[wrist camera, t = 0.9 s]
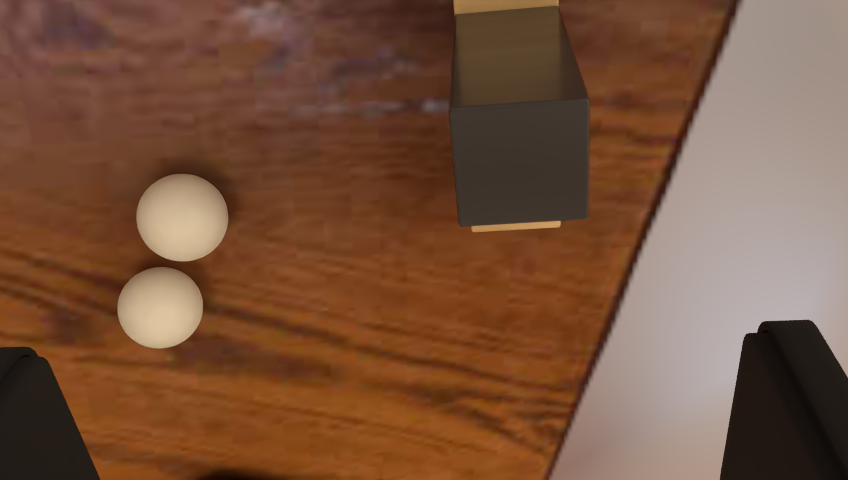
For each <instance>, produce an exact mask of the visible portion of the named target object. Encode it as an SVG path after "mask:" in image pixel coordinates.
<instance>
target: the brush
mask: <svg viewBox="0 0 848 480" xmlns="http://www.w3.org/2000/svg"><path fill="white" fill-rule="evenodd" d="M453 5H454V30H453V47H452V63H451V79H450V96H449V122H450V133H451V144H452V155H453V166H454V178H455V189H456V200H457V211H458V223H459V225H460V226H462V227H465V226H471V231H472V232H485V231H502V230H519V229H537V228H554V227H560V221H567V220H584V219H587V217H588V202H589V132H590V99H589V96H588V93H587V90H586V87H585V84H584V81H583V78H582V75H581V72H580V69H579V66H578V63H577V60H576V57H575V54H574V51H573V48H572V45H571V42H570V39H569V36H568V33H567V30H566V27H565V24H564V21H563V18H562V15H561V12H560V9H559V0H453Z"/></svg>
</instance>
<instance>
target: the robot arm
mask: <svg viewBox="0 0 848 480" xmlns="http://www.w3.org/2000/svg"><path fill="white" fill-rule="evenodd" d="M0 480H100V478H99V476H98V473H97V471H96V469H95V466H94V464H93V462H92V460H91V457H90V455H89V453H88V451H87V448H86V446H85V444H84V441H83V439H82V437H81V435H80V432H79V430H78V428H77V426H76V423H75V421H74V419H73V416H72V414H71V412H70V410H69V407H68V405H67V403H66V401H65V398H64V396H63V394H62V392H61V389H60V387H59V385H58V382H57V380H56V378H55V376H54V373H53V371H52V369H51V367H50V364H49V363H48V361H47V360H46V359H45V358H43V357H38V355H37V353H36V352H35V351H34V350H33V349H31V348H30V347H2V348H0ZM720 480H848V378H847V376H846V374H845V372H844V371H843V369H842V367H841V366H840V364H839V362H838V361H837V359H836V358H835V356H834V354H833V353H832V351H831V349H830V348H829V346H828V344H827V343H826V341H825V339H824V338H823V336H822V335H821V333H820V332H819V329H818V328H817V327H816V325H815V324H814V323H813V322H812V321H810V320H790V321H765V322H762V323H761V324H760V326H759V328H758V332H757V333H748V334H746V335H745V337H744V340H743V345H742V351H741V357H740V363H739V369H738V375H737V381H736V386H735V392H734V398H733V404H732V410H731V416H730V422H729V427H728V433H727V440H726V445H725V451H724V457H723V462H722V468H721V475H720Z"/></svg>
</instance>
